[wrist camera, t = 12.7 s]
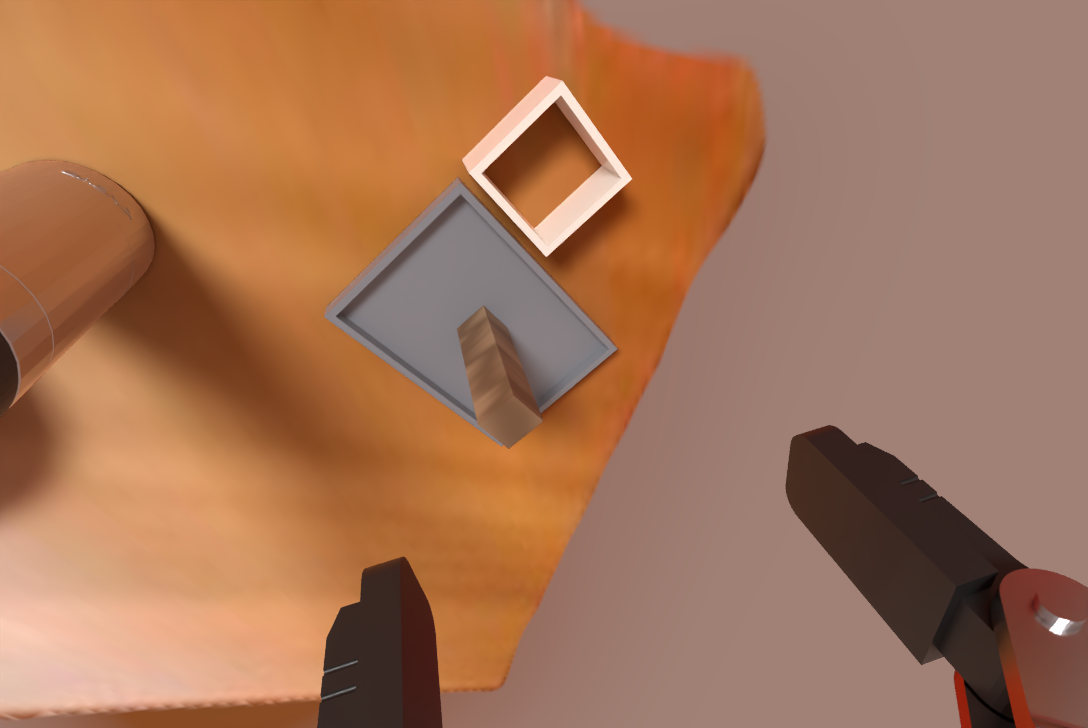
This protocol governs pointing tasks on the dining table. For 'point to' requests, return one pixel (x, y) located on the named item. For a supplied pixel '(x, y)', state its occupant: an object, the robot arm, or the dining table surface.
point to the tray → (466, 305)
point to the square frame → (583, 198)
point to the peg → (497, 379)
